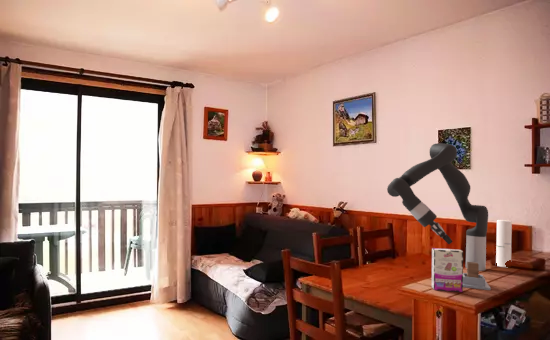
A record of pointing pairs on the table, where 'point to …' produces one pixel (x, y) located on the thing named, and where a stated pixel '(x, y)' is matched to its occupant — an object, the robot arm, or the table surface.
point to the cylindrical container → (503, 242)
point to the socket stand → (475, 282)
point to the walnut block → (472, 269)
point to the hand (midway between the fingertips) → (450, 241)
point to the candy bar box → (447, 269)
